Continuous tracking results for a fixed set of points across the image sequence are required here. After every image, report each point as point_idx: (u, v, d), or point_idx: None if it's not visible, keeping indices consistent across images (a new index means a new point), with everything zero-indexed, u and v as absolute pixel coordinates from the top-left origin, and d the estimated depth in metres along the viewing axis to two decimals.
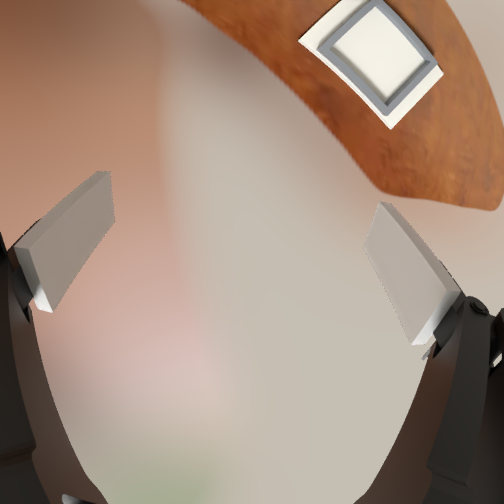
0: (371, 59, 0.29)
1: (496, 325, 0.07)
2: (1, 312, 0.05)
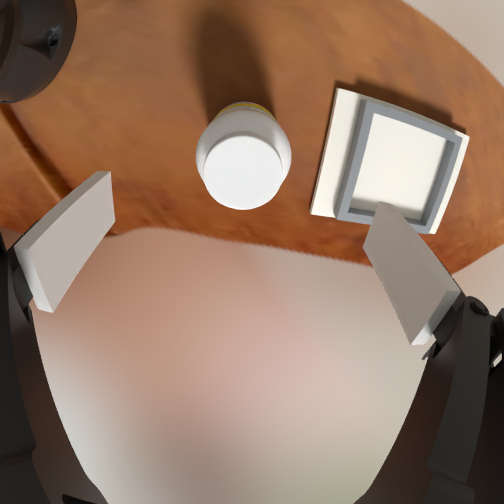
0: (392, 184, 0.29)
1: (496, 325, 0.07)
2: (1, 312, 0.05)
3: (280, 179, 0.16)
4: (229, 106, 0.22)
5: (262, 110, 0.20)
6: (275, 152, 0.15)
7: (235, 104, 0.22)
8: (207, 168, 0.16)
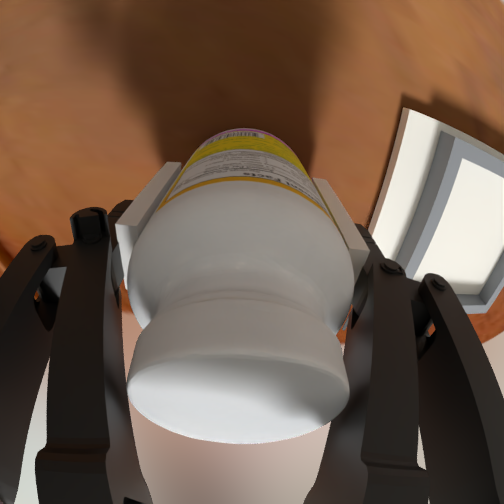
0: (459, 257, 0.18)
1: (422, 294, 0.08)
2: (94, 294, 0.06)
3: (336, 414, 0.05)
4: (213, 142, 0.12)
5: (284, 162, 0.09)
6: (339, 379, 0.05)
7: (225, 138, 0.12)
8: (139, 399, 0.05)
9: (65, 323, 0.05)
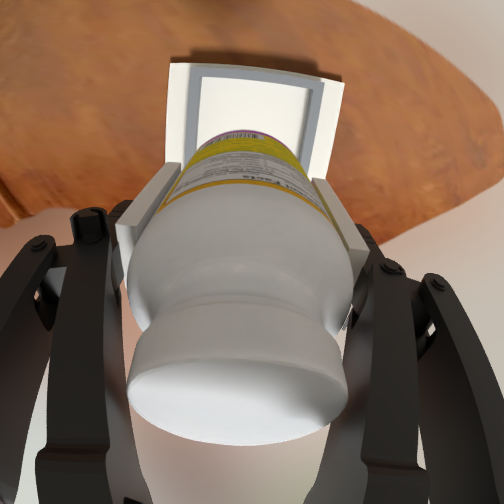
0: None
1: (422, 294, 0.08)
2: (94, 294, 0.06)
3: (335, 416, 0.05)
4: (212, 144, 0.12)
5: (283, 164, 0.09)
6: (338, 382, 0.05)
7: (225, 139, 0.12)
8: (139, 402, 0.05)
9: (65, 323, 0.05)
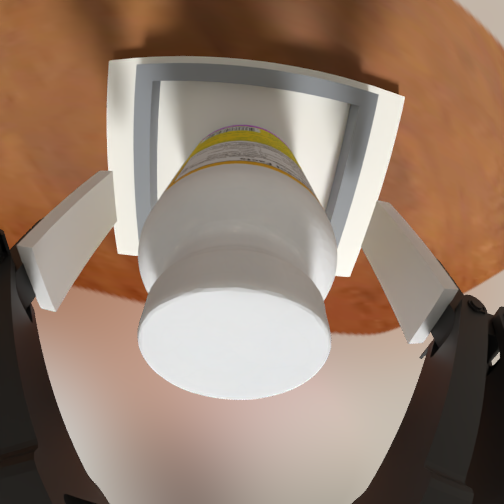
0: None
1: (494, 324, 0.07)
2: (3, 311, 0.05)
3: (321, 363, 0.07)
4: (214, 136, 0.13)
5: (276, 151, 0.10)
6: (320, 319, 0.06)
7: (224, 132, 0.13)
8: (148, 345, 0.06)
9: None
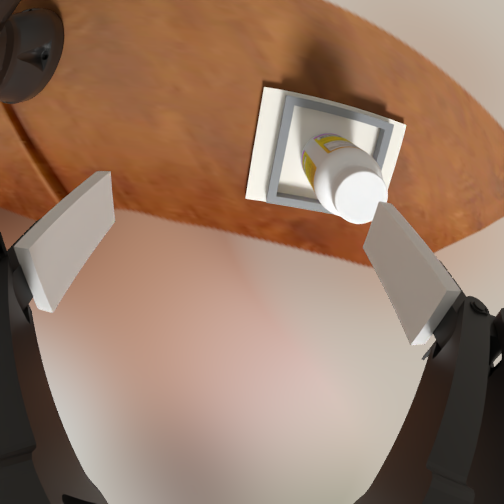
0: None
1: (496, 325, 0.07)
2: (1, 312, 0.05)
3: None
4: (325, 137, 0.28)
5: None
6: (385, 185, 0.21)
7: (330, 136, 0.28)
8: (340, 191, 0.21)
9: None
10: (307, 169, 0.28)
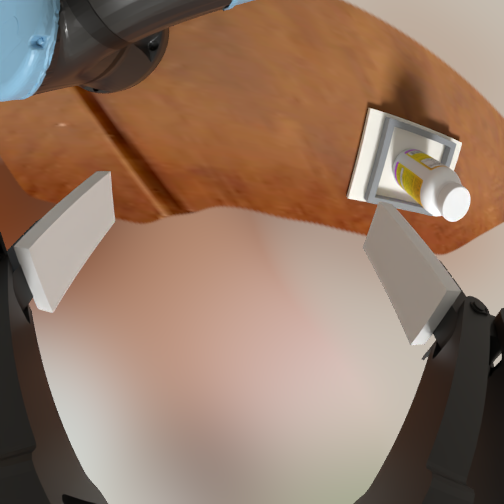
0: None
1: (496, 325, 0.07)
2: (1, 312, 0.05)
3: None
4: (416, 153, 0.33)
5: None
6: (469, 196, 0.26)
7: (419, 153, 0.33)
8: (446, 200, 0.26)
9: None
10: (407, 179, 0.33)
